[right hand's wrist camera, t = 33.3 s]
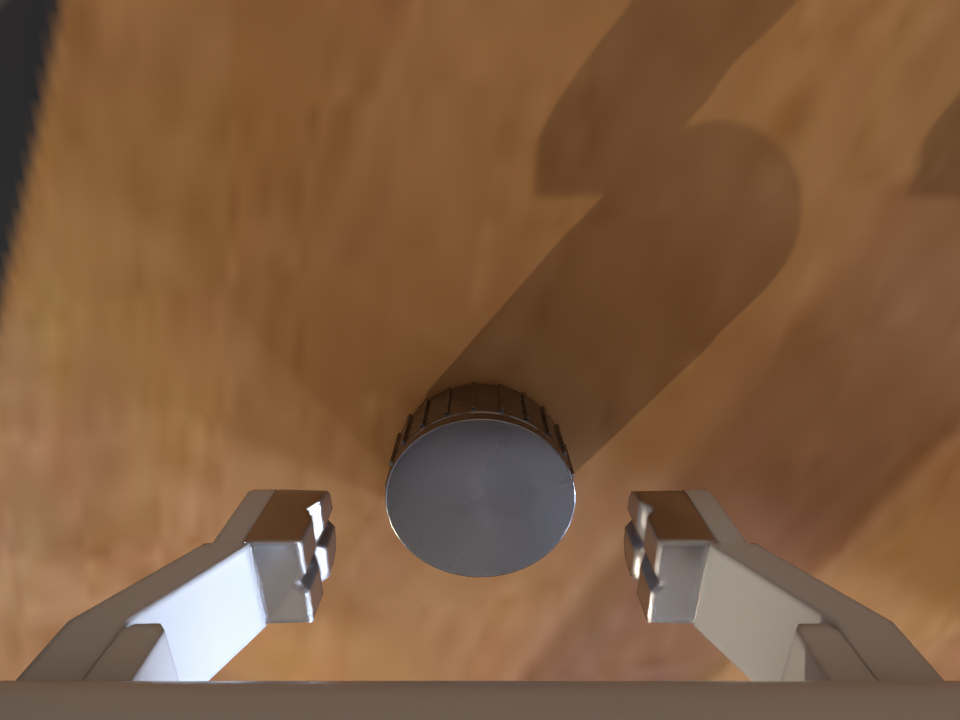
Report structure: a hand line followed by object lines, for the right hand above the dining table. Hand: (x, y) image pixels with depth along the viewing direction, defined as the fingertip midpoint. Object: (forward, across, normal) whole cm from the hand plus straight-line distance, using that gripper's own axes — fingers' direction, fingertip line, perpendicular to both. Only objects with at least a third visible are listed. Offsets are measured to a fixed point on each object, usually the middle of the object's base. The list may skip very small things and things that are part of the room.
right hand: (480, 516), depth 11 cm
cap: (+1, 0, 0) cm, 1 cm away
